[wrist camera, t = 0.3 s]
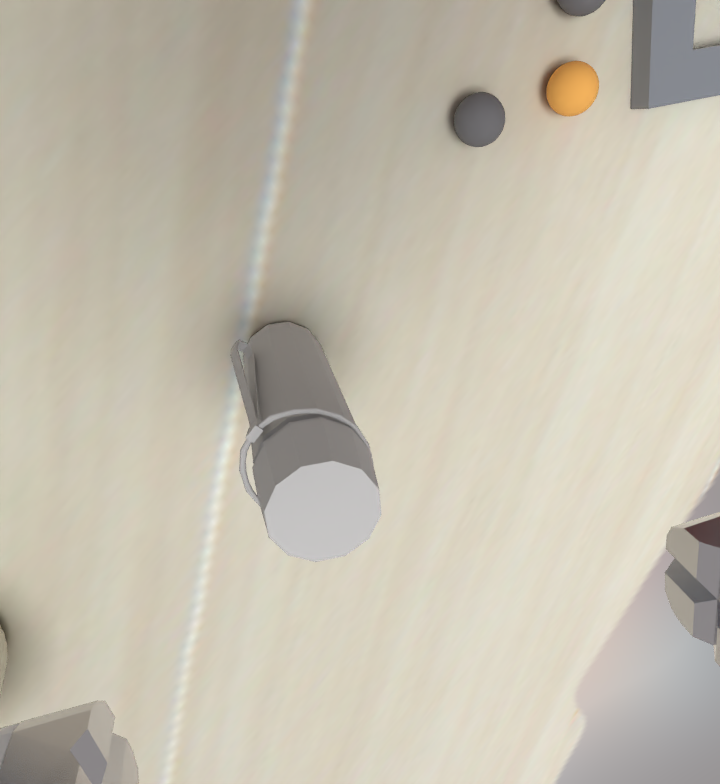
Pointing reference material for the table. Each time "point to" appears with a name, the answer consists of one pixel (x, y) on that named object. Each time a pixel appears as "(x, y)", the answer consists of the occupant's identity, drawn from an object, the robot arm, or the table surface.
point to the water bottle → (304, 447)
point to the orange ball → (572, 88)
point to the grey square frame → (670, 56)
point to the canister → (2, 657)
